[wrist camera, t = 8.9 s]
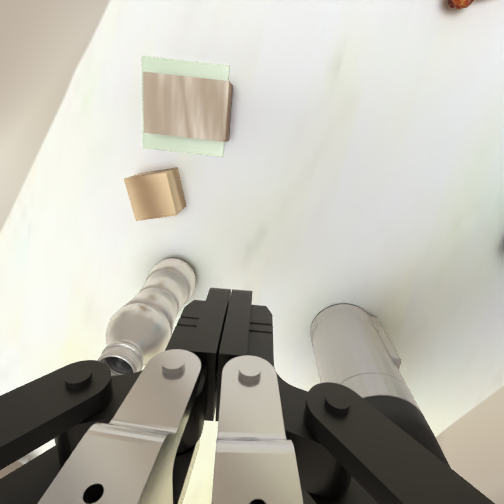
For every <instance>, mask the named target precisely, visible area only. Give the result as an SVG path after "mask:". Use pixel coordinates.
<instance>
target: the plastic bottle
mask: <svg viewBox="0 0 504 504" xmlns="http://www.w3.org/2000/svg"><path fill="white" fill-rule="evenodd" d="M195 281H196V279H195V274H194V271H193V270H192V268H191V267H190V266H189V265H188V264H187V263H186V262H184V261H182V260H180V259H175V258H169V259H165V260H163V261H161V262H159V263H158V264H156V265H155V266H154V267H153V268H152V269H151V271H150V273H149V275H148V277H147V279H146V282H145V284H144V286H143V288H142V289H141V291H140V292H139V293H138V294H137V295H136V296H135V297H134V298H133V299H132V300H131V301H130V302H128V303H127V304H126V305H125V306H123V307H122V308H121V309H120V310H118V311H117V312H116V313H115V314H114V315H113V317H112V318H111V319H110V321H109V324H108V327H107V330H106V344H107V347H106V348H105V349H104V351H103V352H102V354H101V357H100V358H99V359H98V361H99V362H102V363H104V364H106V365H107V366H108V367H109V368H110V371H111V376H116V375H123V374H130V373H135V372H139V371H141V369H142V368H143V366H145V365H146V364H147V363H148V362H149V360H150V359H151V358H152V357H154V356H155V355H157V354H159V353H161V352H163V351H165V349H166V347H167V345H168V343H169V340H170V338H171V334H172V330H173V325H174V322H175V320H176V317H177V315H178V312H179V311H180V309H181V308H182V306H183V305H184V304H185V303H186V302H187V301H188V300H189V298H190V297H191V296H192V294H193V292H194V289H195Z"/></svg>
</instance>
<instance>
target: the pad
mask: <svg viewBox="0 0 504 504" xmlns="http://www.w3.org/2000/svg"><path fill="white" fill-rule="evenodd" d="M143 72H152V73H161V74H170V75H179V76H188V77H197V78H206V79H215V80H225V81H228V80H229V65H220V64H211V63H202V62H193V61H184V60H175V59H166V58H157V57H147V56H142V113H143ZM143 148H148V149H157V150H166V151H174V152H183V153H192V154H201V155H210V156H219V157H223V152H224V142H222V141H213V140H205V139H196V138H187V137H178V136H169V135H160V134H151V133H144V117H143Z"/></svg>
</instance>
